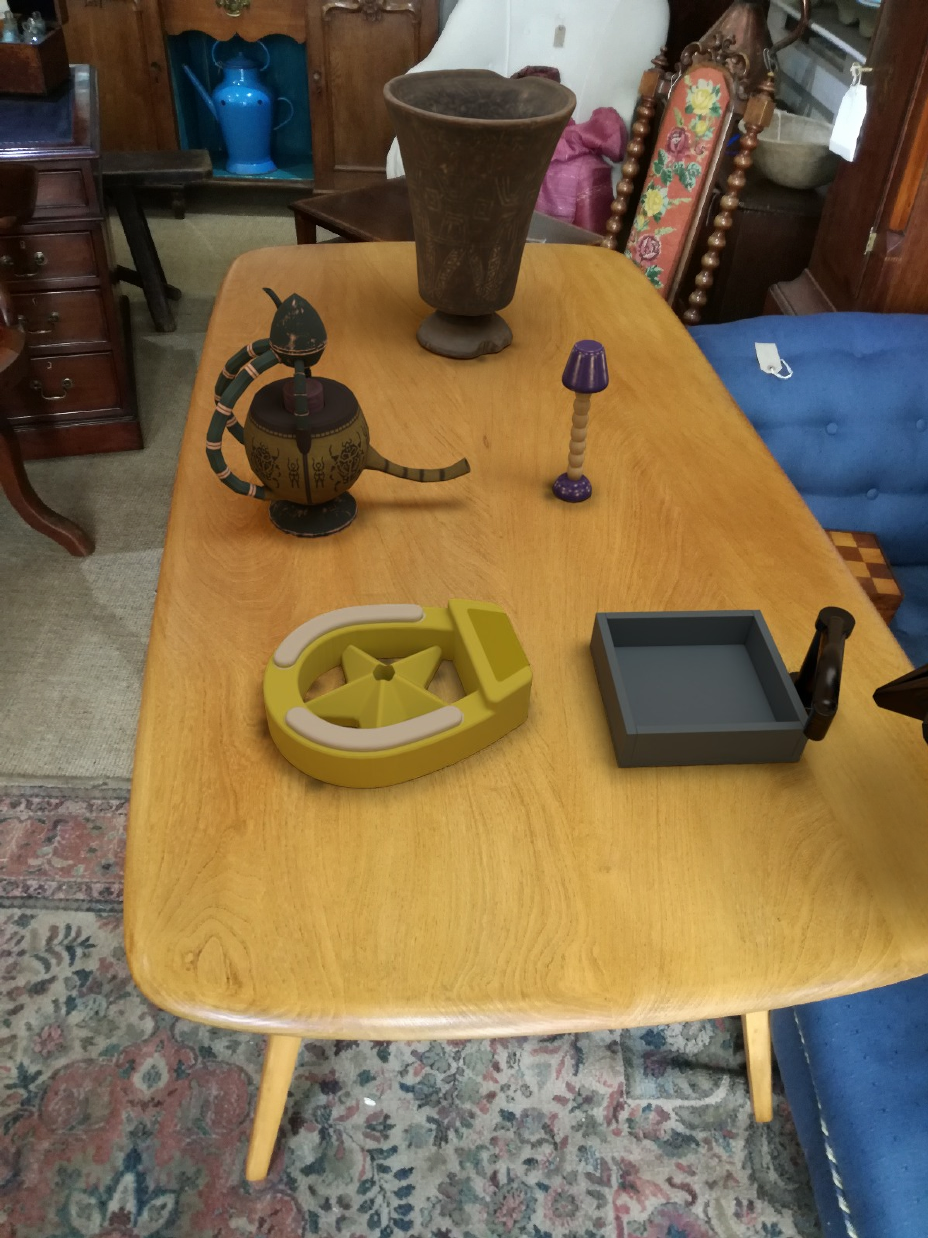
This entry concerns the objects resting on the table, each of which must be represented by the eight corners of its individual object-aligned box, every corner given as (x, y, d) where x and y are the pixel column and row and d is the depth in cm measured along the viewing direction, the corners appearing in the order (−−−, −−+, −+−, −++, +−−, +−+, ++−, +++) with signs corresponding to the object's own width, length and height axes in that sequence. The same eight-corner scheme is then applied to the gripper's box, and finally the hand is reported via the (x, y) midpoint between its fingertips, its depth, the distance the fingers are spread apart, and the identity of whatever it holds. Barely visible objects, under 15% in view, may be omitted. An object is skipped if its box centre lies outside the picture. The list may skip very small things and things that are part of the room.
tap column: (829, 685, 81) (859, 619, 75) (829, 722, 78) (860, 656, 72) (777, 674, 81) (803, 608, 76) (775, 710, 78) (802, 644, 73)
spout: (809, 629, 77) (821, 599, 74) (844, 638, 76) (858, 608, 74) (793, 735, 68) (806, 705, 66) (832, 746, 67) (847, 716, 65)
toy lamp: (541, 493, 100) (558, 348, 89) (558, 472, 103) (577, 329, 92) (582, 506, 98) (605, 361, 87) (598, 485, 102) (622, 342, 90)
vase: (352, 336, 125) (342, 84, 104) (461, 290, 137) (471, 56, 116) (475, 396, 114) (490, 130, 94) (580, 341, 126) (614, 94, 106)
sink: (748, 642, 84) (760, 609, 81) (798, 762, 74) (813, 728, 72) (589, 646, 83) (595, 612, 80) (618, 767, 73) (627, 734, 70)
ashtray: (545, 753, 74) (552, 711, 70) (282, 807, 69) (276, 765, 66) (484, 616, 85) (487, 574, 82) (255, 654, 81) (248, 612, 77)
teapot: (229, 480, 99) (195, 264, 84) (462, 473, 102) (472, 263, 86) (220, 551, 91) (180, 325, 75) (475, 542, 93) (488, 321, 77)
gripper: (1093, 476, 60) (866, 543, 72) (1031, 634, 49) (774, 683, 61) (1161, 618, 62) (930, 660, 74) (1117, 801, 51) (852, 816, 63)
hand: (876, 698), depth 68 cm, fingers closed
